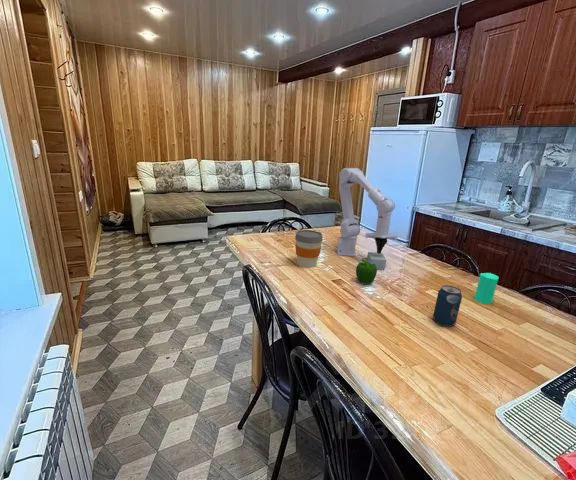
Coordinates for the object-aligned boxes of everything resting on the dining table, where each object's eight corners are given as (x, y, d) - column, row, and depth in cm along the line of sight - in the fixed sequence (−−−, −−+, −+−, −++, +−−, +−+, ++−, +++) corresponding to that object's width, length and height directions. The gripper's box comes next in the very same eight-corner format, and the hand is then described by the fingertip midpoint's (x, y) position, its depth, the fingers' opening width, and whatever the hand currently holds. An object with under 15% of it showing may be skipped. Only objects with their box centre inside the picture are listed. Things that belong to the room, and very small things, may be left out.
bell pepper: (378, 282, 132) (382, 260, 129) (369, 288, 126) (372, 265, 123) (361, 276, 137) (364, 254, 134) (351, 281, 131) (354, 259, 128)
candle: (489, 298, 123) (497, 270, 119) (493, 305, 117) (501, 276, 114) (472, 295, 124) (479, 267, 121) (475, 302, 119) (483, 273, 115)
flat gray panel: (366, 268, 145) (366, 268, 145) (362, 258, 159) (362, 257, 159) (384, 270, 145) (384, 269, 145) (378, 259, 158) (378, 259, 158)
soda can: (454, 330, 100) (462, 296, 96) (430, 322, 103) (438, 289, 99) (456, 320, 105) (464, 288, 102) (434, 313, 109) (440, 282, 105)
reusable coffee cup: (289, 265, 144) (291, 234, 139) (298, 257, 155) (300, 228, 150) (315, 271, 139) (318, 239, 135) (323, 262, 151) (326, 232, 146)
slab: (385, 268, 147) (370, 266, 147) (381, 260, 156) (366, 259, 157) (386, 260, 145) (371, 258, 146) (382, 253, 155) (367, 251, 155)
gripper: (368, 226, 142) (364, 254, 146) (400, 228, 141) (396, 256, 146) (366, 222, 149) (362, 249, 153) (397, 225, 148) (392, 251, 152)
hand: (378, 252), depth 150 cm, fingers closed
